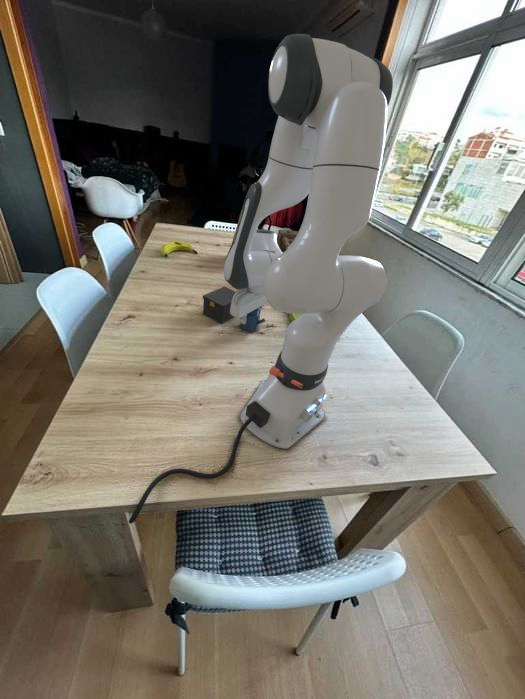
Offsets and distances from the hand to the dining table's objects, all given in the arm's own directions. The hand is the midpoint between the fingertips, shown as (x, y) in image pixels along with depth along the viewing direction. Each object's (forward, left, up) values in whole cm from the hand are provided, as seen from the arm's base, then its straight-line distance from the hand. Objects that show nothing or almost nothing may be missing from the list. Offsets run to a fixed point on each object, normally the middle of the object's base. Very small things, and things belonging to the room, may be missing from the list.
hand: (250, 319), depth 101 cm
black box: (0, +12, -3) cm, 13 cm away
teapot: (0, 0, -3) cm, 3 cm away
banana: (+27, +65, -4) cm, 70 cm away
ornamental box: (+54, +13, -4) cm, 55 cm away
